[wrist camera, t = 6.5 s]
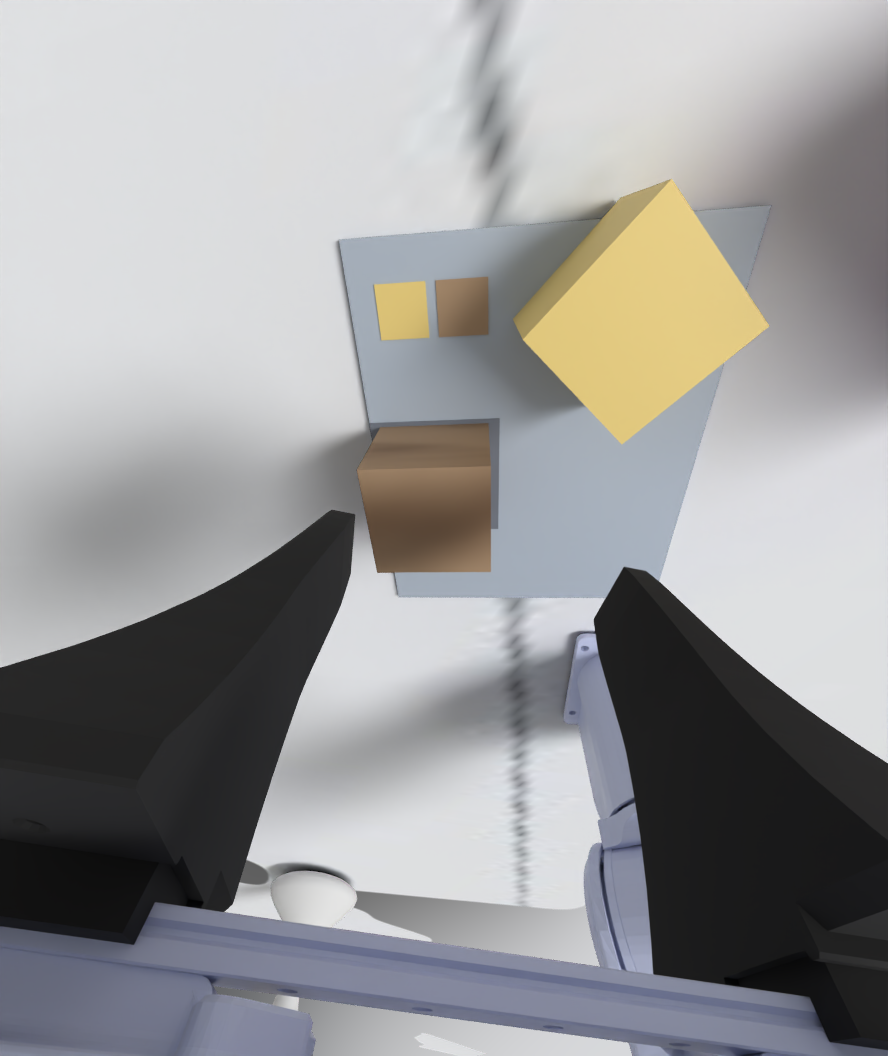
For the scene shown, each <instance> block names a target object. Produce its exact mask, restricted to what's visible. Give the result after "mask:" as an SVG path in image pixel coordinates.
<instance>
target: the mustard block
mask: <svg viewBox="0 0 888 1056" xmlns="http://www.w3.org/2000/svg"><path fill="white" fill-rule="evenodd" d="M513 321H514V323H515V325H516V327H517V329H518V331H519V333H520V335H521V337H522V339H523V340H524V341H525V343H526V344H527V345H528V346H529V347H530V348H531V349H532V350H533V351H534V352H535V353H536V354H537V355H538V356H539V357H540V358H541V359H542V361H543V362H544V363H545V364H546V365H547V366H548V367H549V368H550V369H551V370H552V371H553V372H554V373H555V374H556V375H557V376H558V378H559V379H560V380H561V381H562V382H563V383H564V384H565V385H566V386H567V387H568V388H569V389H570V390H571V391H572V392H573V393H574V394H575V396H576V397H577V398H578V399H579V400H580V401H581V402H582V403H583V404H584V405H585V406H586V407H587V408H588V409H589V410H590V411H591V412H592V414H593V415H594V416H595V417H596V418H597V419H598V420H599V421H600V422H601V423H602V424H603V425H604V426H605V427H606V428H607V429H608V431H609V432H610V433H611V434H612V435H613V436H614V437H615V438H616V439H617V440H618V441H619V442H620V443H621V444H623V443H625V442H626V441H627V440H628V439H630V438H631V437H632V436H633V435H635V434H636V433H637V432H638V431H640V430H641V429H642V428H643V427H645V426H646V425H647V424H648V423H649V422H651V421H652V420H653V419H654V418H656V417H657V416H658V415H659V414H661V413H662V412H663V411H664V410H666V409H667V408H668V407H669V406H671V405H672V404H673V403H674V402H676V401H677V400H678V399H679V398H681V397H682V396H683V395H684V394H686V393H687V392H688V391H689V390H691V389H692V388H693V387H694V386H696V385H697V384H698V383H699V382H701V381H702V380H703V379H704V378H706V377H707V376H708V375H709V374H711V373H712V372H713V371H714V370H716V369H717V368H718V367H719V366H720V365H722V364H723V363H724V362H725V361H727V360H728V359H729V358H730V357H732V356H733V355H734V354H735V353H737V352H738V351H739V350H740V349H742V348H743V347H744V346H745V345H747V344H748V343H749V342H750V341H752V340H753V339H754V338H755V337H757V336H758V335H759V334H760V333H762V332H763V331H764V330H765V329H767V328H768V327H769V325H768V323H767V322H766V320H765V319H764V317H763V316H762V314H761V313H760V311H759V310H758V308H757V307H756V305H755V304H754V302H753V301H752V299H751V298H750V296H749V294H748V293H747V291H746V290H745V288H744V287H743V285H742V284H741V282H740V281H739V279H738V278H737V276H736V275H735V273H734V272H733V270H732V269H731V267H730V266H729V264H728V263H727V261H726V260H725V258H724V257H723V255H722V254H721V252H720V251H719V249H718V248H717V246H716V245H715V243H714V242H713V240H712V239H711V237H710V236H709V234H708V233H707V231H706V230H705V228H704V227H703V225H702V224H701V222H700V221H699V219H698V218H697V216H696V215H695V213H694V212H693V210H692V209H691V207H690V206H689V204H688V203H687V201H686V200H685V198H684V197H683V195H682V194H681V192H680V191H679V189H678V188H677V186H676V185H675V183H674V182H673V180H672V179H671V180H668V181H665V182H662V183H660V184H657V185H654V186H651V187H649V188H646V189H643V190H640V191H638V192H635V193H632V194H629V195H627V196H624V197H621V198H620V199H619V200H618V201H617V202H616V204H615V205H614V206H613V207H612V208H611V209H610V210H609V211H608V213H607V214H606V215H605V216H604V217H603V218H602V219H601V220H600V222H599V223H598V224H597V225H596V226H595V227H594V228H593V229H592V231H591V232H590V233H589V234H588V235H587V236H586V237H585V238H584V240H583V241H582V242H581V243H580V244H579V245H578V246H577V247H576V249H575V250H574V251H573V252H572V253H571V254H570V255H569V256H568V258H567V259H566V260H565V261H564V262H563V263H562V264H561V265H560V267H559V268H558V269H557V270H556V271H555V272H554V273H553V274H552V276H551V277H550V278H549V279H548V280H547V281H546V282H545V283H544V285H543V286H542V287H541V288H540V289H539V290H538V291H537V292H536V294H535V295H534V296H533V297H532V298H531V299H530V300H529V301H528V302H527V304H526V305H525V306H524V307H523V308H522V309H521V310H520V311H519V313H518V314H517V315H516V316H515V317H514V318H513Z"/></svg>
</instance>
